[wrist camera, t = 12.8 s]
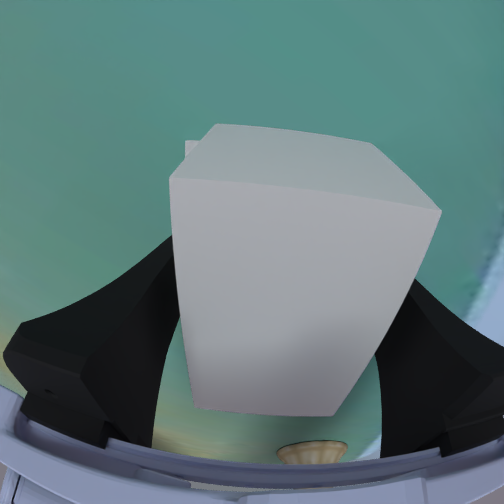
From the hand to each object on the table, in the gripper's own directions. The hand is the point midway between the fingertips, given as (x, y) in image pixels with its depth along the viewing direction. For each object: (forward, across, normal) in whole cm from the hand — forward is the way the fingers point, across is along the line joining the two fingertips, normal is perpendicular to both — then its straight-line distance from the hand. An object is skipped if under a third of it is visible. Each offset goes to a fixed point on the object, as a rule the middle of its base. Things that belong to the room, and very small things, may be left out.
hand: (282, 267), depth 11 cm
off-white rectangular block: (+2, 0, 0) cm, 2 cm away
